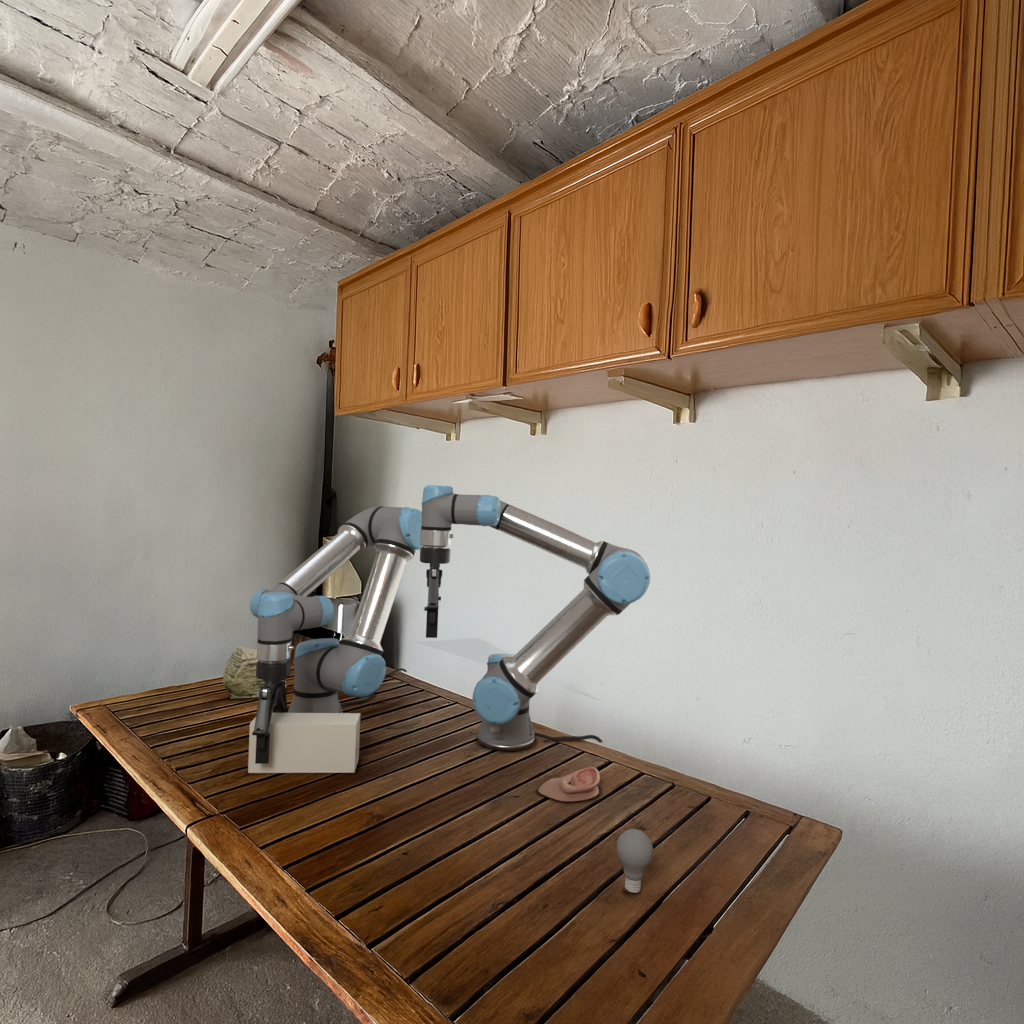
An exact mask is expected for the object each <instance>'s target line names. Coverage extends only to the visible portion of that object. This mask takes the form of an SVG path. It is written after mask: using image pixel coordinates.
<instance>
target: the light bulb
mask: <svg viewBox="0 0 1024 1024" xmlns="http://www.w3.org/2000/svg"><path fill="white" fill-rule="evenodd" d="M615 849H616V854H617V857H618V859H619V861H620V863H621V865H622V867H623V873H624V874H623V875H624V876H625V878H624V888H625V890H627V891H628V892H630V893H634V894H635V893H639V892H640V891H641V889H642V887H641V886H642V879H643V877H644V875H645V871H646V868H647V867H648V866H649V864H650V863H651V861H652V859H653V855H654V847H653V843H652V841H651V838H649V836H648V835H647V834H646V833H645V832H643V831H642V830H641V829H636V828H629V829H627V830H625V831H623V832H622V833H621V834H620V835H619V837H618V839H617V841H616V847H615Z"/></svg>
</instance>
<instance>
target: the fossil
mask: <svg viewBox="0 0 1024 1024" xmlns="http://www.w3.org/2000/svg"><path fill="white" fill-rule="evenodd" d="M256 656H257V648H251V647H247V646H246V647H245V646H238V647H237V648H236V649H235V650H233V651H232V653H231V656H230V657H229V659H228V660H227V663H226V666H225V668H224V671H223V675H222V676H223V677H222V685H223V687H224V688H225V690H226V691H228V693H229V698H230V699H250V698H259V690H260V689H262V686H264V683H265V681H264V680H262V679H258V678H257V677H256V663H257V661H258V660H257V658H256ZM285 685H286V688H287V687H288V686H287V680H286V679H285Z"/></svg>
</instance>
